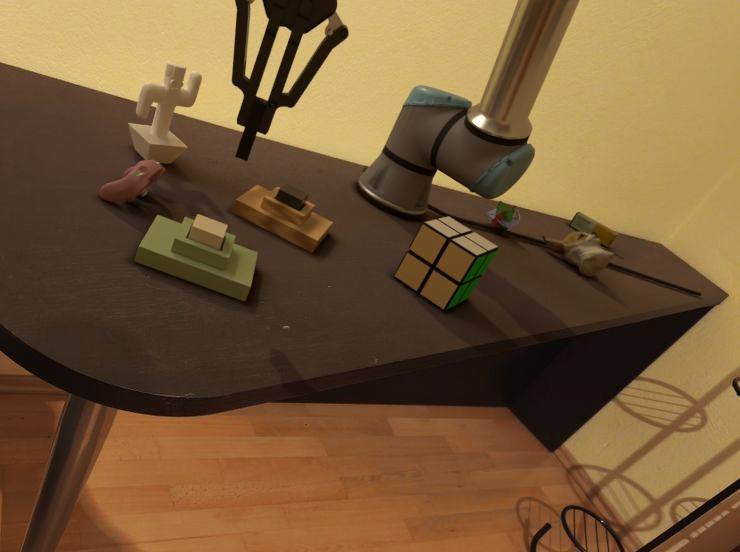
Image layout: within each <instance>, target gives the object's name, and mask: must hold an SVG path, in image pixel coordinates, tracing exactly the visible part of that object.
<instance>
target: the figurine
mask: <svg viewBox="0 0 740 552" xmlns="http://www.w3.org/2000/svg"><path fill="white" fill-rule="evenodd" d="M186 72H187V67H185V66H184V65H183V64H180V63H177V62H174V61H167V62H166V66H165V71H164V78H163V81H162V83H156V82H150V81H147V82H145V83H144V84H142V86H141V89H140V92H139V97H138V101H137V104H136V109H135V115H136V116H137V117H138V118H139V119H142V120H146V119H147V118H148V116H149V114H150V109H151V107H152V105H153V103H155V104H156V108H155V112H154V116H153V119H152V122H151V125H148V124H141V123H134V122H133V123H132V122H127V125H128V129H129V133H130V138H131V142H132V144H133V149H134V150H135V152H136V153H138V154H139V155H140V156H141V157H142V158H143V160H153V158H154V160H155V161H156V162H159V163H160V164H166V165H167V164H168V165H169V164H172V163H173V162H174V161H175V160H176V159H178V158H179V157H180V156H181V155H182V154H183V153H184V152H185V151H187V150H188V149H189V147H188V145H186V144H185V143H184V142H183V141H182V140H181V139H179V137H177V136H176V135H175V134H174V133H173V132H172V131H170V128H171V124H172V120H173V116H174V113H175V110H176V107H182V108H191V107H193V106H194V105H195V103H196V100H197V98H198V96H199V91H200V87H201V84H202V81H203V76H202V74H201V73H200V72H199V71H198V70H192V71H191V72H190V74H189V77H188V80H187V82H186V85H185V87H184V80H185V76H186Z"/></svg>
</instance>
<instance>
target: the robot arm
mask: <svg viewBox="0 0 740 552" xmlns="http://www.w3.org/2000/svg"><path fill="white" fill-rule="evenodd" d="M255 1H256V0H234V3H235V7H236V13H235V14H236V15H235V29H234V43H233V56H232V57H233V58H232V59H233V60H232V71H231V84H232V86H234V87H236V88H237V89H239V91H241V93H242V95H243V98H242V102H241V105H240V107H239V111H238V114H237V117H236V125H239V126H241V127H244V129H243V132H242V135H241V137H240V140H239V144H238V146H237V149H236V151H235V152H236V153H235V155H234V157H235V158H238V159H240V160H242V161H246V162H248V160H249V157H250V154H251V152H252V148H253V146H254V143H255V140H256V137H257V135H258V133H259V134H262V135H264V136H266V135H267V134H268V133H269V131H270V128H271V125H272V124H273V120H274V117H275V114H276V112H277V110H278V109H279V108H289V109H293V108H295V106H296V105H297V104H298V102H299V100H300V99H301V97H302V95H303V94H304V93H305V92H306V90H307V89H308V87H309V86H310V84H311V83H312V81H313V79H314V78H315V77H316V75H317V73H318V72H319V71H320V69H321V67H322V66H323V65H324V63H325V61H326V60H327V59H328V57H329V55H330V54H331V52H332V51H333V49H336V47H338V46H339V45H340V44H342V43H343V42H344V41H346V39H347V38H348V37H349V35H350V32H349V27H348V26H347V25H346V24H345V23H344V22H343V21H342V19H341V18H340V16H339V14H338V12H337V10H338V0H261V1H262V5H263V9H264V14H265V16H266V18H267V19H268V21H267V24H266V27H265V30H264V34H263V36H262V40H261V43H260V45H259V49H258V52H257V55H256V58H255V61H254V64H253V68H252V70H251V73H250V76H249V77H248V76H247V75H246V70H247V60H248V59H247V57H248V46H249V37H250V36H249V35H250V22H251V10H252V9H251V5H252V4H253V3H255ZM580 1H581V0H517V2H516V5H515V7H514V9H513V12H512V16H511V19H510V20H509V23H508V26H507V29H506V32H505V34H504V37H503V39H502V42H501V44H500V48H499V50H498V53H497V56H496V58H495V61H494V64H493V66H492V69H491V73H490V75H489V77H488V79H487V82H486V85H485V88H484V91H483V93H482V96H481V99H480V101H479V102H478V103H476V104H474V105H473V101H471V100H469V99H468V98H465V97H462V96H460V95H457V94H455V93H452V92H449V91H445V90H442V89H439V88H436V87H432V86H428V85H423V84H419V85H415V86H414V87H413V88H412V89H411V90H410V92H409V94H408V96H407V97H406V99H405V101H404V102H403V104H402V107H401V109H400V111H399V114H398V116H397V118H396V120H395V122H394V124H393V126H392V129H391V131H390V133H389V135H388V136H387V140H386V142H385V144H384V146H383V148H382V150H381V152H380V154H379V155H378V156H377V157H376V158H375V160H374V161H373V162H371V164H370V165H369V166H368V165H364V166H363V168H362V170H361V173H362V174H361V175H360V176H359V177H358V180H357V182H356V185H355V188H356V190H357V191H358V193H359V194H360V195H361V196H362V197H363V198H364V199H366V200H367V201H368V202H370V203H371V204H373V205H374V206H375V207H376V206H377V208H380V209H381V210H384V211H386V212H388V213H391V214H393V215H395V216H397V217H398V216H399V217H402V218H404V219H405V218H406V219H410V220H419V219H422V218H423V217H424V215H425V214H426V212H427V210H429V211H431V212H433V213H436V214H438V215H440V216H442V217H443V218H444V217H448V216H449V217H451V218H452V219H454V220H456V221H457V222H459V223H461V224H462V223H463V224H466V225H470V226H474V227H478V228H480V229H484V230H488V231H489V230H490V231H491V232H495V233H496V232H497V233H500V234H502V233H503V234H504V233H505V230H499V229H501V228H497V227H493V226H490V225H491V224H486V223H483V222H479V221H476V220H471V219H467V218H464V217H460V216H457V215H453V214H450V213H448V212H445V211H443V210H441V209H439V208H438V207H435V206H434V205H431V204H430V203H429V200H430V195H431V191H432V190H431V189H432V184H433V180H434V177H435V176H436V173H437V172H440V173H442V174H444V175H445V176H447V177H448V178H450V179H452V180H453V181H455V182H456V183H458V184H460V185H461V186H463V187H464V188H466V189H467V190H469V192H470V193H474V194H476V195H477V196H479V197H481V198H483V199H486V200H496V199H497V198H499V197H501V196H503V195H504V194H506V193H507V192H508V191H509V190H510V189H512V188H513V187H514V186H515V185H516V184H517V183H518V182H519V180H521V178H522V177H523V176H524V175H525V173H526V172H527V171H528V169H529V167H530V166H531V164H532V162H533V161H534V159H535V155H536V153H535V152H536V148H535V147H534V146H533V145H532V143H528V141H529V139H530V137H531V134H532V132H533V124H532V122H531V120H530V118H529V116H530V115H531V112H532V110H533V108H534V105H535V103H536V101H537V99H538V96H539V94H540V92H541V90H542V88H543V85H544V82H545V81H546V78H547V77H548V74H549V72H550V69H551V67H552V65H553V62H554V61H555V58H556V56H557V53H558V51H559V48H560V46H561V44H562V42H563V39H564V37H565V35H566V32H567V30H568V28H569V25H570V23H571V21H572V19H573V17H574V14H575V12H576V10H577V7H578V5H579V3H580ZM327 20H328V23H327V24H326V26H325V28H324V35H325V36H324V37H323V39H322V40H321V42H320V43H319V44H318V46H317V48H315V50H314V52H313V54H311V57H310V58H309V60H308V62H307V63H306V64H305V66H304V67H303V69H302V71H301V72H300V74H299V75H298V77H297V78H296V79H295V81H294V82H293V84H292V86H291V87H290V89H289V91H287V92H284V89H285V87H286V84H287V82H288V78H289V75H290V72H291V70H292V67H293V64H294V61H295V58H296V55H297V53H298V50H299V46H300V44H301V42H302V39H303V36H304V35H306V34H308V33H310V32H311V31H313V30H314V29H315V28H318V26H320V25H321V24H323V23H324V22H325V21H327ZM280 27H282V28H286V29H287V30H289V32H290V34H289V37H288V40H287V43H286V47H285V49H284V52H283V55H282V58H281V61H280V64H279V67H278V69H277V72H276V76H275V79H274V81H273V83H272V86H271V90H270V93H269V96H268V99H265V98H262V97H260V96H257V94H258V92H259V89H260V86H261V83H262V80H263V78H264V74H265V71H266V69H267V64H268V62H269V59H270V57H271V53H272V50H273V47H274V44H275V41H276V38H277V35H278V33H279V29H280ZM506 231H507V232H506V233H507V234H506V236H507V235H508V236H511V237H514V238H518V239H522V240H525V241H528V242H532V243H535V244H539V245H542V246H544V247H545V246H546V247H548V246H547V245H546V243H545V241H544V240H543V239H539V238H535V237H532V236H528V235H525V234H523V233H522V234H521V233H518V232H515V231H512V230H511V231H510V230H509V229H507V230H506ZM503 234H502V235H503ZM607 266H608V267H611V268H614V269H616V270H620V271H623V272H626V273H628V274H631V275H633V276H634V275H635V276H637V277H640V278H643V279H646V280H648V281H651V282H655V283H658V284H661V285H664V286H666V287H670V288H673V289H676V290H679V291H682V292H685V293H689V294H692V295H695V296H698V297H702V295H703V293H702V292H699V291H697V290H694V289H690V288H688V287H684V286H681V285H677V284H675V283H672V282H669V281H666V280H663V279H661V278H660V279H659V278H657V277H654V276H652V275H648V274H645V273H642V272H639V271H637V270H633V269H631V268H627V267H625V266H622V265H619V264H616V263H613V262H611V261H610V262H609V264H608V265H607Z"/></svg>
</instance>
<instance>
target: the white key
mask: <svg viewBox="0 0 740 552" xmlns="http://www.w3.org/2000/svg"><path fill="white" fill-rule="evenodd" d="M194 220H195V221H194V223H193V225H192V228H191V231H190V234H189V237H188V239H190V240H193V241H195V242H198V243H201V244H203V245H206V246H209V247H211V248H214V249H217V250H220V247H221V244H222V242H223V239H224V236H225V233H226V232H227V230H228V226H229V225H228V224H226V223H223V222H220V221H217V220H215V219H212V218H210V217H207V216H205V215H202V214H199V213H198V214H196V216H195V218H194Z"/></svg>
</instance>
